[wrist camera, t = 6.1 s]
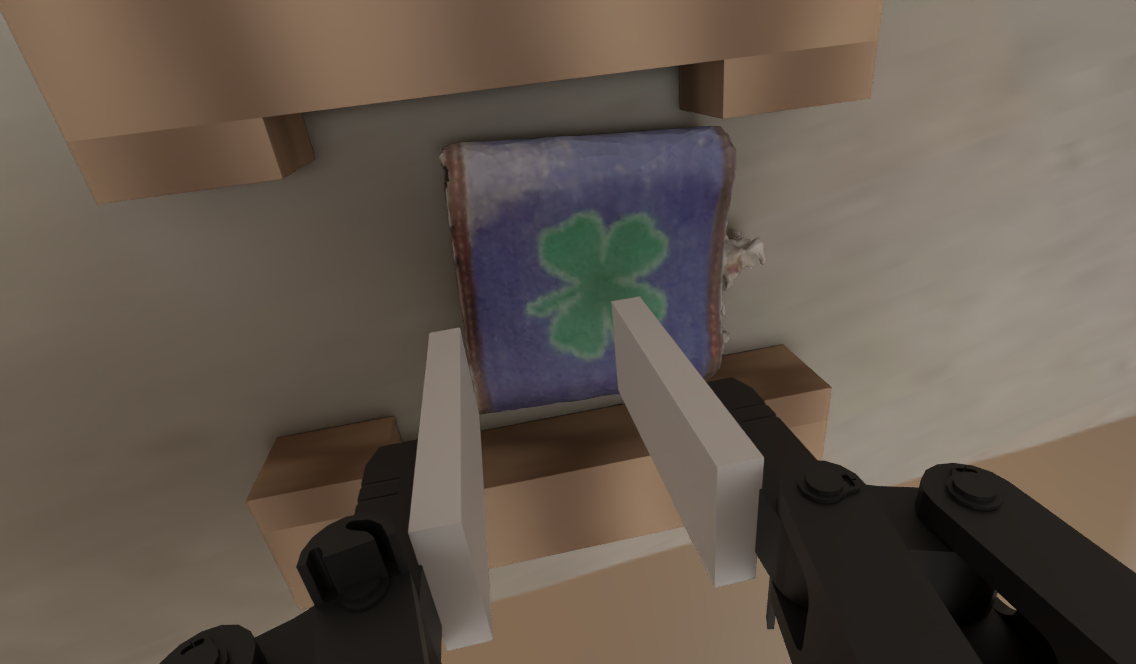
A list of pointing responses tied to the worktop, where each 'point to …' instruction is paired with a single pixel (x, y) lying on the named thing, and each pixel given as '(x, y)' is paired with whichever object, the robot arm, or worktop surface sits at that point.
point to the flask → (588, 254)
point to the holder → (414, 70)
